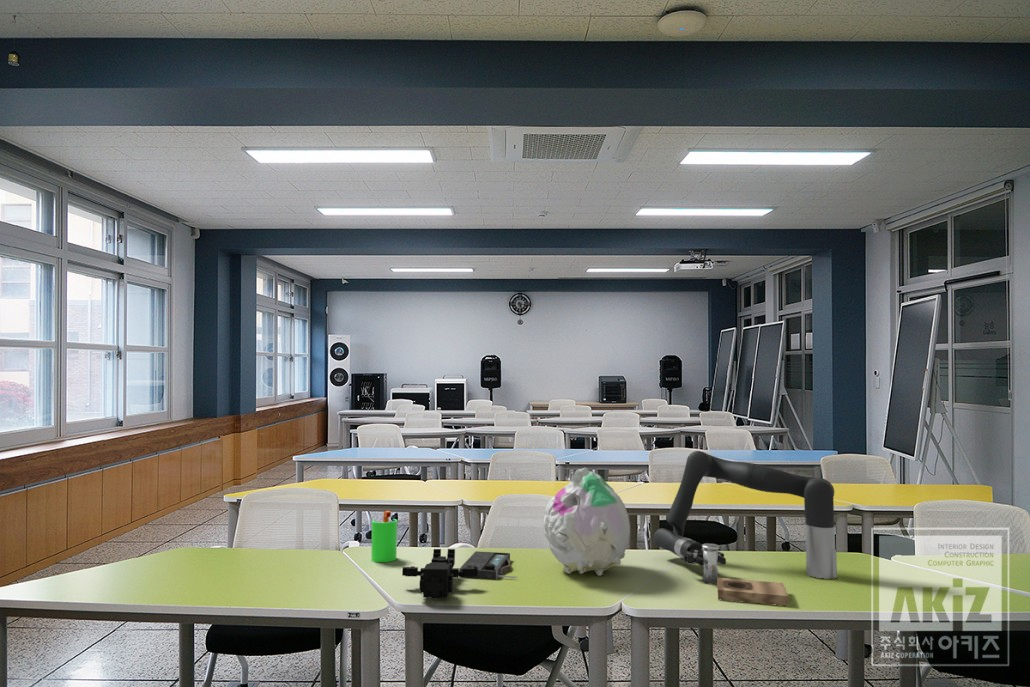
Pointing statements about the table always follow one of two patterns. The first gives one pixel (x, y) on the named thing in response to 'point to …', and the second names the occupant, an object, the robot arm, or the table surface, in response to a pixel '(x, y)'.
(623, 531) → the sculpture
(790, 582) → the table surface
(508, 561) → the radio
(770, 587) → the block
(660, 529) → the robot arm
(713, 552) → the silver metal peg
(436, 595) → the toy
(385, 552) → the green pencil cup
